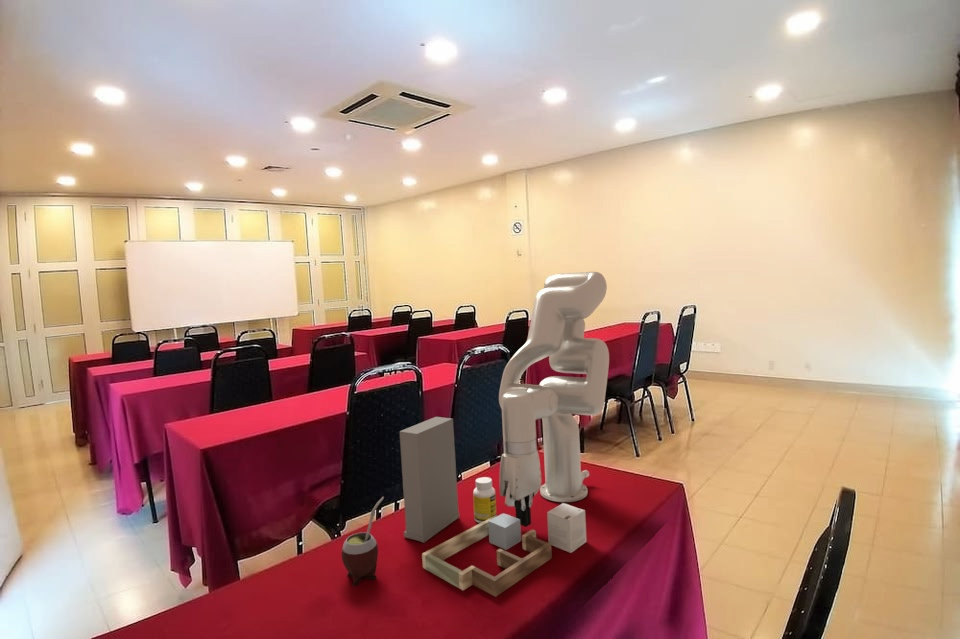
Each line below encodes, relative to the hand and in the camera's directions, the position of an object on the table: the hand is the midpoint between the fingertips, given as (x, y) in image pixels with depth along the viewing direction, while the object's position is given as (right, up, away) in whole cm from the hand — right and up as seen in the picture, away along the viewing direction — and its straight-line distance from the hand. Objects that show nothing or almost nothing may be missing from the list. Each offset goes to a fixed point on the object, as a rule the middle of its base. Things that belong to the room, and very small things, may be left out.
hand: (523, 523), depth 117 cm
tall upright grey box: (-21, -3, +4) cm, 22 cm away
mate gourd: (-33, -5, -15) cm, 37 cm away
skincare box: (+9, -2, -6) cm, 11 cm away
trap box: (-8, -3, -12) cm, 14 cm away
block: (-4, -2, -4) cm, 7 cm away
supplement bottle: (-9, -2, +7) cm, 11 cm away
